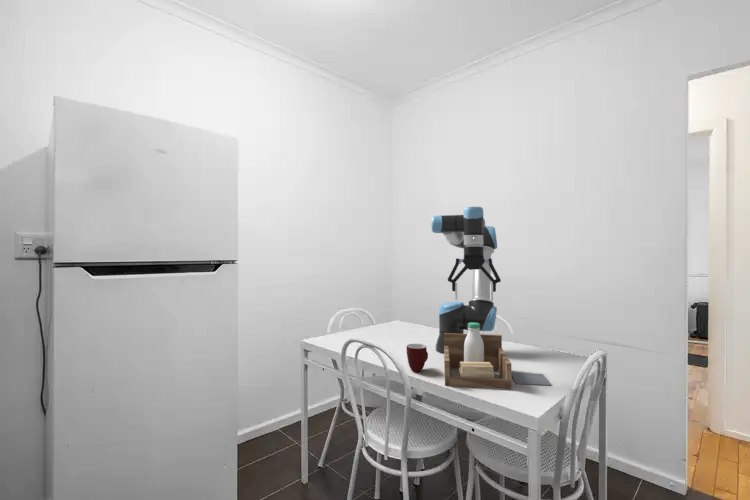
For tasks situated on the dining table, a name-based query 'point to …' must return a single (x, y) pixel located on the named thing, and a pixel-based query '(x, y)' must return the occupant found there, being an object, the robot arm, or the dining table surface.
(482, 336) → the rack
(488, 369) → the offcut top
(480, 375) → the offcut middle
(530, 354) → the dining table surface
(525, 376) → the mat
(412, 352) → the mug
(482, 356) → the milk bottle
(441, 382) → the dining table surface
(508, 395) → the dining table surface
